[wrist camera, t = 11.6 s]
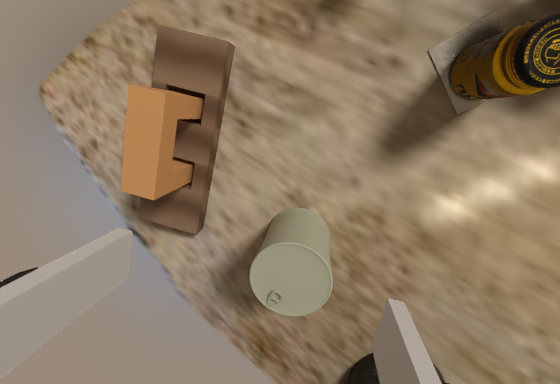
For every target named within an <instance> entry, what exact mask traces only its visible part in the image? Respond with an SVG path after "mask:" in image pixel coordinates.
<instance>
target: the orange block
mask: <svg viewBox="0 0 560 384" xmlns="http://www.w3.org/2000/svg"><path fill="white" fill-rule="evenodd" d="M204 101H205V99H203V98H199V97H196V96H192V95H188V94H184V93H180V92H174V91H169V90H163V89H157V88H151V87H145V86H140V85H134V84H129V87H128V101H127V114H126V127H125V141H124V154H123V167H122V181H121V191H123V192H126V193H130V194H133V195H137V196H140V197H143V198H147V199H150V200H156V199H158V198H160V197H162V196H164V195H166V194H168V193H170V192H172V191H174V190H176V189H178V188H180V187H182V186H184V185H186V184H188V183H190V182H192V179H193V173H194V166H195V162H191V161H187V160H184V159H180V158H177V157H173V151H174V143H175V135H176V127H177V119H202V114H203V108H204Z"/></svg>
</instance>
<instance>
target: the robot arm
mask: <svg viewBox="0 0 560 384" xmlns="http://www.w3.org/2000/svg"><path fill="white" fill-rule="evenodd" d="M131 246H132V231H130V230H126V229H122V228H117V229H115V230H113V231H112V232H109V233H107V234H106V235H104V236H102V237H100V238H98V239H96V240H94V241H92V242H90V243H88V244H86V245H84V246H82V247H80V248H78V249H76V250H74V251H72V252H70V253H68V254H66V255H64V256H62V257H60V258H58V259H56V260H54V261H53V262H50V263H48V264H46V265H44V266H42V267H41V268H37V267H36V268H33V269H30V270H26V271H23V272H20V273H17V274H15V275H13V276H11V277H9V278H7V279H5V280H4V281H3V282H0V379H2V378H3V377H5V376H6V375H7V374H8V373H9V372H11V371H12V370H13V369H15V368H16V367H17V366H18V365H20V364H21V363H22V362H23V361H25V360H26V359H27V358H28V357H30V356H31V355H32V354H33V353H35V352H36V351H37V350H38V349H40V348H41V347H42V346H44V345H45V344H46V343H47V342H49V341H50V340H51V339H52V338H54V337H55V336H56V335H57V334H59V333H60V332H61V331H62V330H64V329H65V328H66V327H68V326H69V325H70V324H71V323H72V322H74V321H75V320H76V319H78V318H79V317H80V316H81V315H83V314H84V313H85V312H86V311H88V310H89V309H90V308H91V307H93V306H94V305H95V304H96V303H98V302H99V301H100V300H101V299H103V298H104V297H105V296H107V295H108V294H109V293H110V292H112V291H113V290H114V289H115V288H117V287H118V286H119V285H120V284H122V283H123V282H124V281H125V280H127V279H128V278H129V277H130V261H131ZM371 346H372V351H373V354H371V355H369V356H367V357H365V358H363V359H362V360H361V361H359V362H358V363H357V364H356V365H355V367H354V368H353V369H352V371H351V373H350V376H349V380H348V384H448V383H445V381H444V378H443V376H442V374H441V373H440V371H439V370H438V369H437V368H436V366H435V365H433V364H432V361H431V359H430V357H429V355H428V353H427V351H426V348H425V346H424V344H423V342H422V340H421V338H420V336H419V333H418V331H417V329H416V327H415V325H414V323H413V320H412V318H411V316H410V314H409V312H408V310H407V308H406V305H405V303H404V302H401V301H397V300H393V299H389V298H388V299H387V302H386V304H385V307H384V310H383V313H382V316H381V318H380V321H379V324H378V327H377V330H376V333H375V335H374V338H373V341H372V344H371Z"/></svg>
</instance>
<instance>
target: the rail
mask: <svg viewBox="0 0 560 384" xmlns="http://www.w3.org/2000/svg"><path fill="white" fill-rule="evenodd" d="M234 48H235V46H233V45H232V44H231V43H230V42H228V41H224V40H220V39H216V38H211V37H207V36H203V35H199V34H195V33H191V32H187V31H182V30H178V29H174V28H170V27H166V26H162V25H158V31H157V41H156V51H155V61H154V72H153V82H152V88H157V89H163V90H169V91H174V92H175V87H179V88H183V89H187V90H191V91H195V92H199V93H203V94H206V95H205V101H204V108H203V114H202V121H201V123H198V122H194V121H190V120H186V119H177V127H176V135H175V143H174V151H173V157H177V158H180V159H184V160H187V161H191V162H195V166H194V173H193V179H192V184H190V183H188V184H186V185H184V186H182V187H180V188H178V189H176V190H174V191H172V192H170V193H168V194H166V195H164V196H162V197H160V198H158V199H156V200H150V199H147V198H143V197H141V203H140V214H139V218H141V219H145V220H148V221H151V222H155V223H158V224H162V225H165V226H168V227H172V228H175V229H179V230H182V231H185V232H189V233H192V234H195V235H196V234H197V233H198V232H199V231H200V230H202V229H203V225H204V220H205V214H206V208H207V203H208V197H209V191H210V185H211V180H212V174H213V168H214V163H215V157H216V151H217V145H218V140H219V134H220V128H221V123H222V117H223V111H224V105H225V100H226V94H227V88H228V83H229V77H230V71H231V65H232V60H233V54H234Z"/></svg>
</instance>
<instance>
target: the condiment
mask: <svg viewBox="0 0 560 384" xmlns="http://www.w3.org/2000/svg"><path fill="white" fill-rule="evenodd" d="M428 51H429V53H430V55H431V57H432V60H433V62H434V64H435V66H436V68H437V70H438V73H439V75H440V77H441V79H442V82H443V84H444V87H445V89H446V91H447V93H448V95H449V97H450V100H451V102H452V104H453V106H454V108H455V110H456V112H457V114H458V115H459V114H461V113H463V112H464V111H466V110H468V109H470V108H472V107H474V106H476V105H477V104H479V103H481V102H483V101H485V100H487V99H493V98H501V97H510V96H522V95H529V94H533V93H536V92H539V91H541V90H543V89H545V88H550V87H557V86H560V14H556V15H553V16H548V17H547V18H545V19H535V20H530V21H527V22H525V23H522V24H519V25H517V26H515V27H513V28H511V29H509V30H506V31H504V32H502V30H501V27H500V24H499V21H498V18H497V16H496V13H495V11H493V12H491V13H490V14H488V15H486V16H485V17H483V18H481V19H480V20H478V21H476V22H475V23H473V24H471V25H470V26H468V27H466V28H465V29H463V30H461V31H460V32H458V33H456V34H455V35H453V36H451V37H450V38H448V39H446V40H445V41H443V42H441V43H440V44H438V45H436V46H435V47H433V48H431V49H430V50H428ZM453 54H455V55H454V57H453ZM452 58H453V61H452Z"/></svg>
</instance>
